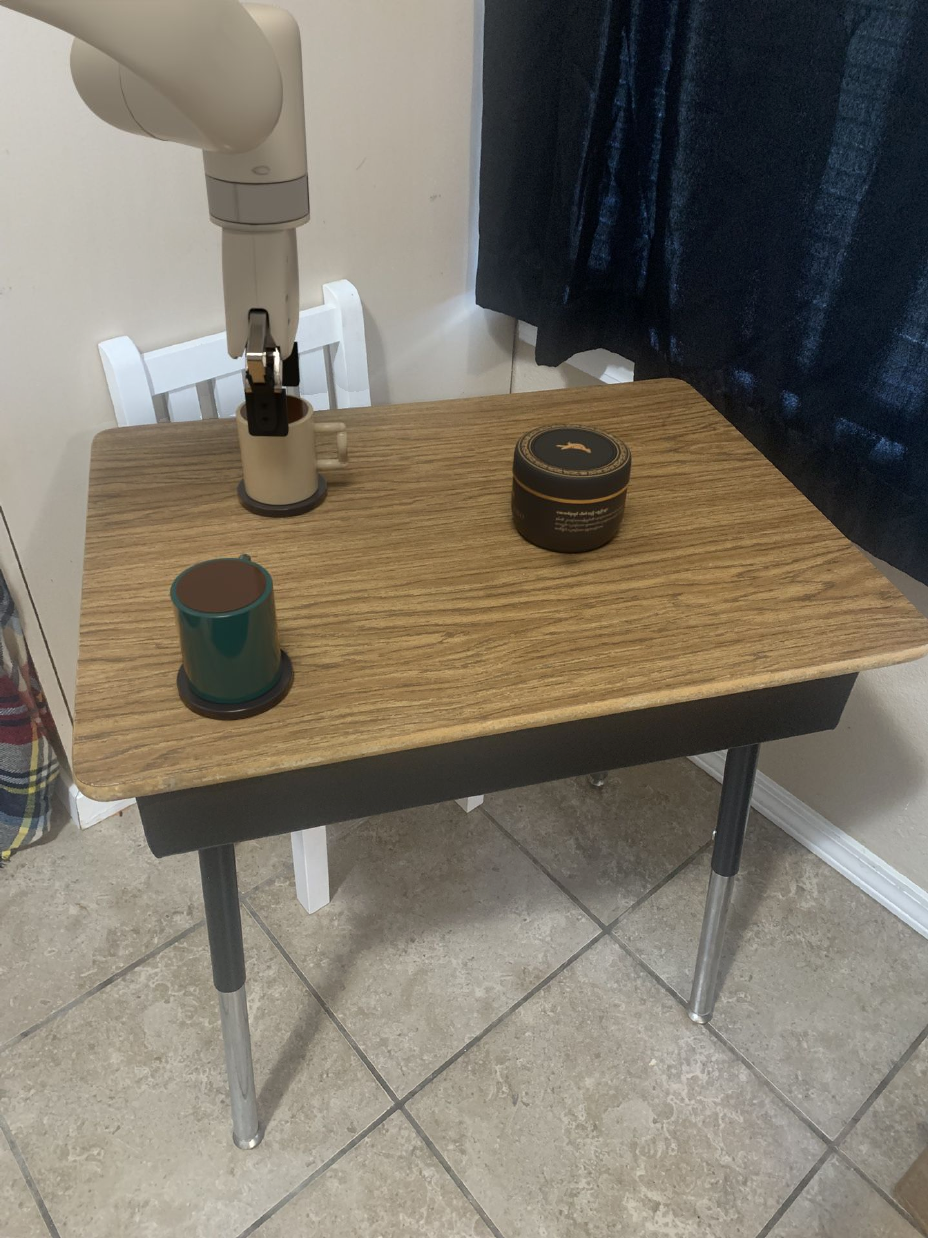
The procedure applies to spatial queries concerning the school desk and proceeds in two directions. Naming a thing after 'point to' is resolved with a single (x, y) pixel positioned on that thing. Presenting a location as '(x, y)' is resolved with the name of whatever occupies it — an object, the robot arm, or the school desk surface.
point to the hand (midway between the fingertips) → (275, 408)
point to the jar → (569, 486)
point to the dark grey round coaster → (283, 509)
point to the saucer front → (237, 709)
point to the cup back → (287, 456)
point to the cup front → (227, 629)
